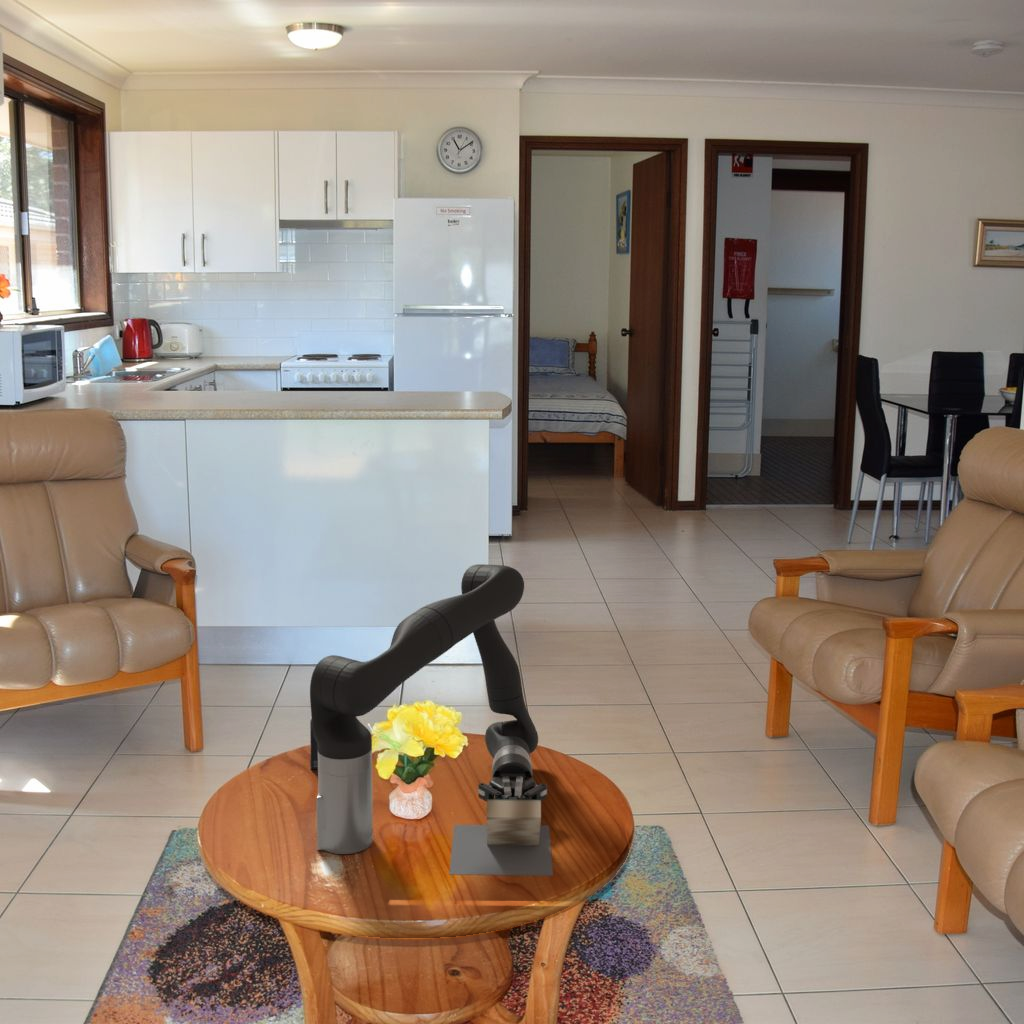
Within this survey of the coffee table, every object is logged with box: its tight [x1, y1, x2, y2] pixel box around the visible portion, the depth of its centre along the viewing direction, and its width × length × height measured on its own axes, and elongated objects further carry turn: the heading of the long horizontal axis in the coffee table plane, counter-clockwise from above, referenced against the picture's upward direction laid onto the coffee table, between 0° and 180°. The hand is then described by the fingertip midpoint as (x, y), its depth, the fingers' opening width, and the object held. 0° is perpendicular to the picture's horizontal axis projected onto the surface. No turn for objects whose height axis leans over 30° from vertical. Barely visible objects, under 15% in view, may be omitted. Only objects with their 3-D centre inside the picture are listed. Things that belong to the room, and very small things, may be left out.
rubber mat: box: [448, 824, 554, 877], centre depth 200 cm, size 17×18×1 cm
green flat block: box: [486, 798, 542, 845], centre depth 198 cm, size 9×3×11 cm
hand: (513, 812), depth 201 cm, fingers closed
